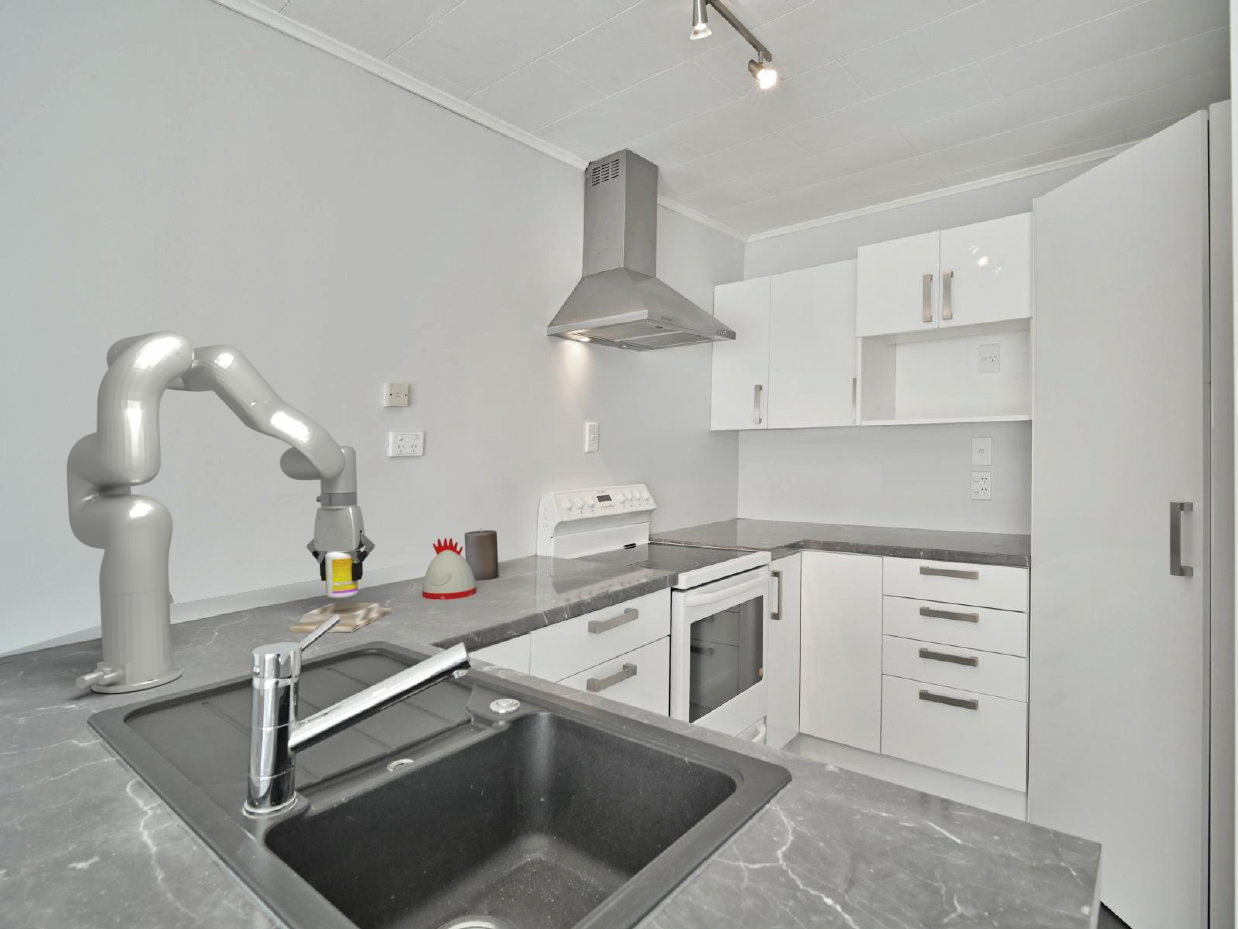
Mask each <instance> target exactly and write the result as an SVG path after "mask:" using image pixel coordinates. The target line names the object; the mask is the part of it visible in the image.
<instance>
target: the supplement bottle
mask: <svg viewBox="0 0 1238 929" xmlns="http://www.w3.org/2000/svg"><path fill="white" fill-rule="evenodd" d="M352 563H354V561H353V559H352V557H351V555H350V553H349V552H327V553H326V554H325V568H326V581H325V592H326V596H327V597H328V598H331V599H343V598H349V597H353V596H356V595H358V592H359V583H358V582H359V580H357V581H352V568H351V565H352Z"/></svg>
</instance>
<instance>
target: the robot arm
mask: <svg viewBox="0 0 1238 929" xmlns="http://www.w3.org/2000/svg"><path fill="white" fill-rule="evenodd" d="M106 365H107V367H108V369H107V370H106V372H105V373H104V375H103V377H102V380H101V382H100V384H99V388H98V393H97V400H96V401H97V402H96V405H97V406H96V431H95V432H93V433H90V434H86V435H85V436H83V437H81V438H80V439H78V440H77V441H76V442H75V444H74V445H73V446H72V447H71V449H70V451H69V453H68V456H67V462H66V481H67V482H66V484H67V485H66V486H67V488H66V489H67V507H68V509H67V510H68V521H69V525H70V530H71V532H72V534H73V535H74V537H75V538H76V540H78V541H79V542H80V543H82V544H83V545H85V546H87V547H88V548H89V547H91V548H94V549H100V550H103V551H104V552H103V556H102V560H101V564H100V568H99V577H98V578H99V579H98V580H99V581H98V584H99V585H98V588H99V590H98V591H99V600H100V601H99V602H100V604H99V605H100V606H99V607H100V624H101V626H100V628H101V632H100V633H101V654H102V655H101V656H102V661H98V662H97V663H96V669H94V670H93V672H88V673H87V674H83V675H80V676H78V677H77V678H76V679H75V685H76V687H77V688H78V689H81V690H82V689H85V688H87V687H91V690H92V691H94V692H96V693H98V694H99V693H101V694H116V693H117V694H119V693H121V694H122V693H128V692H135V691H141V690H145V689H150V688H153V687H157V686H160V685H164V684H168V683H170V682H172V681H174V680H176V679H178V678H180V677H181V676H182V675H183V673H184V667H183V666H182V664H179V663H177V662H172V661H173V659H172V655H173V654H172V632H171V628H172V627H171V604H170V599H169V592H170V585H169V584H170V580H169V560H170V559H169V557H170V548H171V543H172V542H171V541H172V536H173V527H174V523H173V517H172V513H171V512H170V511H169V508H168V507H167V506H166V505H165V504H164V503H163V502H162V501H160V500H159V499H157V498H154V497H152V496H149V495H144V494H133V493H132V487H136V486H141V485H145V484H148V483H150V482H151V481H153V480H154V479H156V477H157V476H158V474H159V473H160V469H161V465H162V454H161V435H160V434H161V433H160V431H161V430H160V408H161V407H160V406H161V401H162V397H163V395H164V393H165V391H166V390H172V391H181V392H182V391H183V392H193V393H194V392H195V393H197V392H200V393H201V392H202V393H203V392H211V391H212V392H213V393H215V394H216V395H217V397H218V398H219V399H220V400H221V401H223V403H224V404H225V405H226V406H227V407H228V409H230V410H231V411H232V413H233V414H234V415H235V416H236V417H237V418H238V419H239V420H240V421H241V423H242V424H244V425H245V426H246V427H247V428H249V429H250V430H253V431H254V432H257V433H260V434H262V435H265V436H267V437H272V438H275V439H277V440H280V441H282V442H284V443H286V444H287V445H289V446H291V447H290V448H288V449H286V450H285V451H284V452H283V453H282V454H281V456H280V460H279V467H280V470H281V471H282V473H283V474H284V475H285V476H287V477H288V478H290V479H293V480H297V481H320V495H317V496H316V498H315V500H316V502H317V503H320V507H317V509H316V515H315V518H314V519H315V520H314V530H313V531H314V533H313V538H312V539H311V540H310V542H308V544H306V546H305V548H306V549H307V550H308V551H309V552H310V553H311V556H313V558H314V559H315V560H316V562H317V563H318V564H319V577H320V580H321V582H326V568H325V554H326V553H327V552H349V553H350V555H351V557H352V559H353V561H354V563H352V565H351V568H352V581H357V580H358V581H360V580H361V579H363V573H364V569H363V562H364V561H365V560H366V559H367V557H368V556H369V555H370V553H371V552H373V550H374V548H375V547H376V544H375V543H374V542H373V541H372V540H371V539H369V537H367V536H366V534H365V524H364V519H363V514H362V510H361V506H360V505H358V486H357V483H358V481H357V479H358V478H357V455H356V454H357V453H356V450H355V448H354V447H353V446H348V445H339V444H338V442H337V441H336V440H335V439H334V438H333V436H332V435H331V434H330V433H329V431H328V430H326V428H324V426H322V425H321V424H320V423H319V422H318V421H316V420H314V419H313V418H311V417H310V416H308V415H307V414H306V413H304V412H302V411H300V410H299V409H298V408H296V407H295V406H293V405H291V404H289V403H288V402H286V401H285V400H283V399H282V398H281V397H280V396H279V394H278V393H277V392H276V390H274V389H273V387H272V386H271V385H270V384H269V382H268V381H267V380H266V379H265V378H264V377H263V375H262V374H261V373H260V372H259V371H258V370H257V369H256V367H255V366H254V365H253V364H252V363H251V362H250V361H249V359H248V358H247V357H246V356H245V354H243V353H242V352H241V351H240V350H239V349H237V347H236V348H235V347H234V346H231V345H228V344H216V345H208V346H202V347H201V346H200V347H194V345H193V343H192V342H191V340H189V339H188V338H187V337H186V335H183V334H181V333H179V332H174V331H165V330H164V331H163V330H162V331H155V332H148V333H144V334H139V335H134V336H133V335H132V336H128V337H123V338H120V339H118V340H117V341H115V342H114V343H113V344H112V345H111V346H110V347H109V348H108V350H107V353H106ZM363 548H364V549H363ZM362 549H363V551H362Z"/></svg>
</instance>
